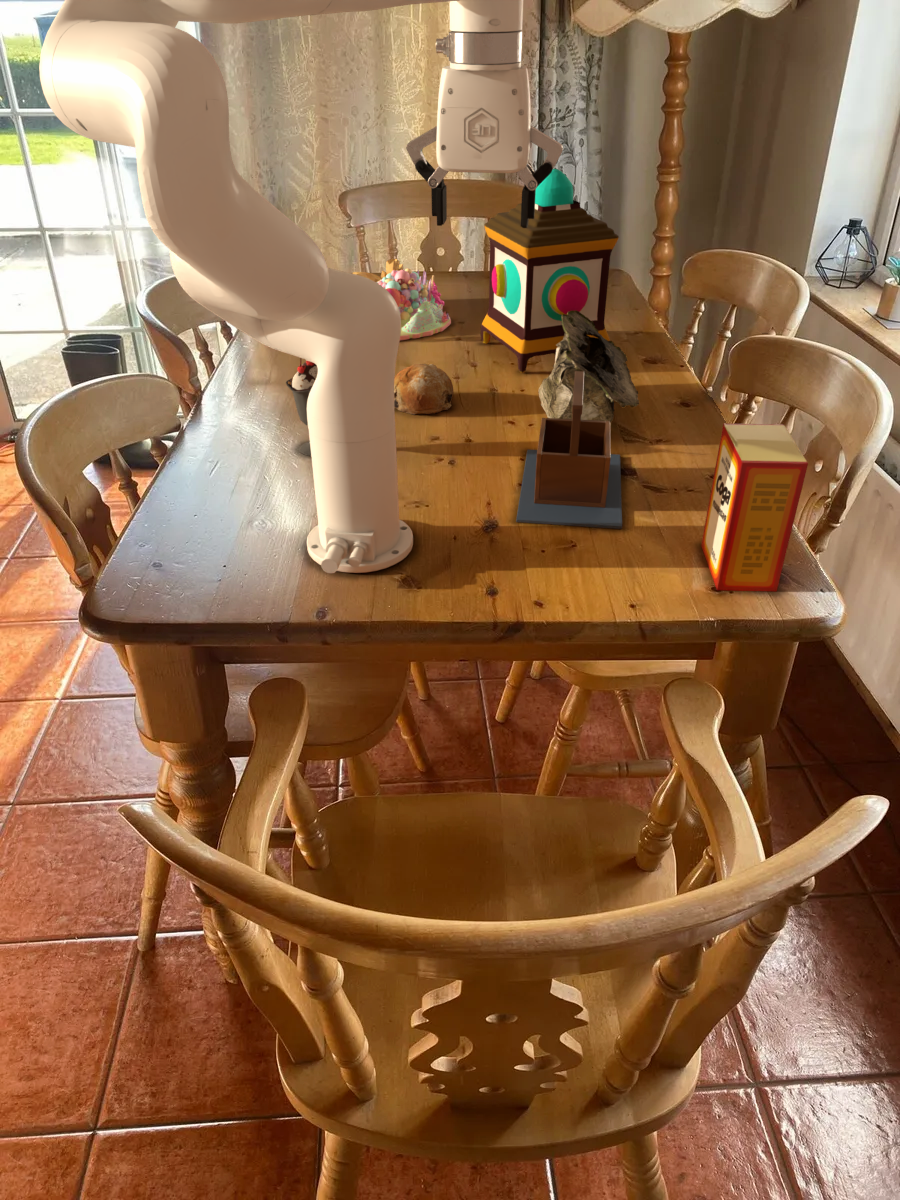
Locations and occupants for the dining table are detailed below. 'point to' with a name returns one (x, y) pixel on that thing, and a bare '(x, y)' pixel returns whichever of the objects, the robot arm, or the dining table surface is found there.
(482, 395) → the dining table surface
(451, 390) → the bread roll
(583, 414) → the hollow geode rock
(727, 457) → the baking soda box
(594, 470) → the basket
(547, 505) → the placemat
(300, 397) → the sundae
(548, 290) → the decorative lantern
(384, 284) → the candy landscape model
